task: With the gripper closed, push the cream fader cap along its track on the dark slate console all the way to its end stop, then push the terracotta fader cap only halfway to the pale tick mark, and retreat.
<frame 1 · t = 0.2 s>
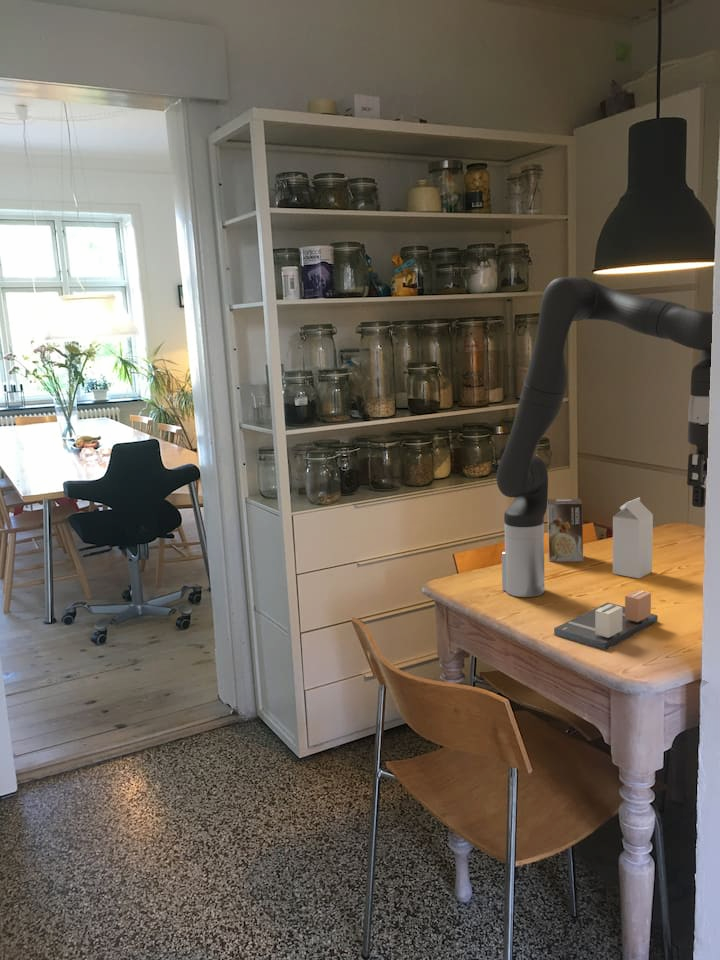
hand: (707, 501, 154), 28 cm above the table, fingers open, 8 cm apart
console board: (606, 628, 168), on the table
coffee box: (565, 559, 217), on the table
fader terracotta: (637, 605, 168), point 5 cm above the table, slide at 0.0 cm
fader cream: (608, 620, 161), point 4 cm above the table, slide at 0.0 cm
milk carton: (632, 573, 202), on the table
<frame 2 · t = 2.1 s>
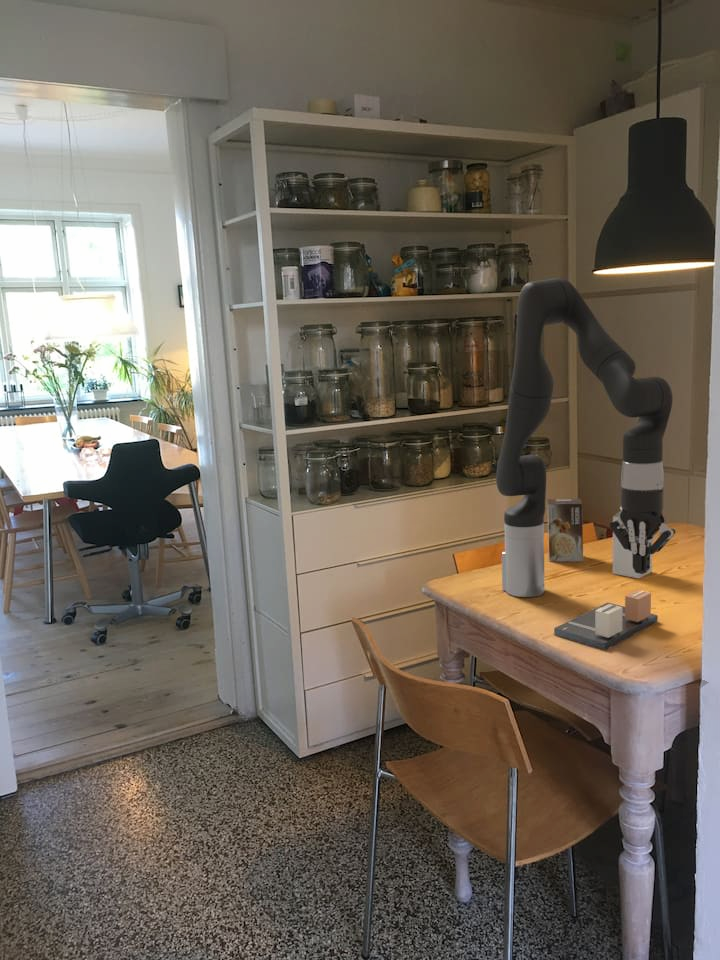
hand: (641, 572, 153), 16 cm above the table, fingers closed
nothing on the table moved.
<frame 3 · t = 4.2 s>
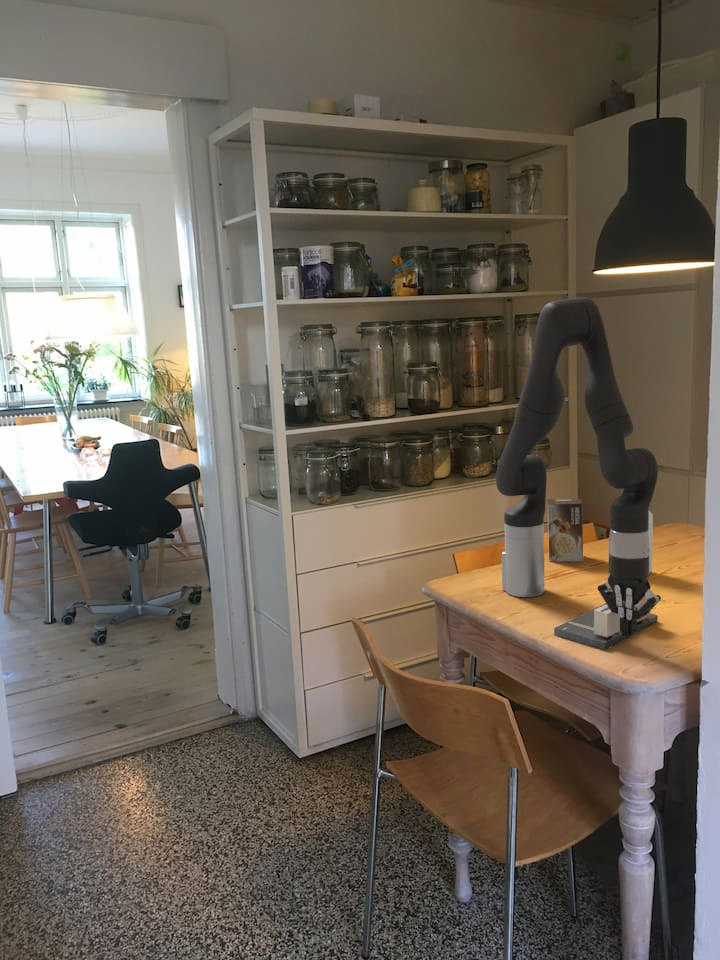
hand: (628, 635, 158), 2 cm above the table, fingers closed
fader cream: (607, 619, 161), point 5 cm above the table, slide at 0.3 cm, touching gripper
everything else where it was.
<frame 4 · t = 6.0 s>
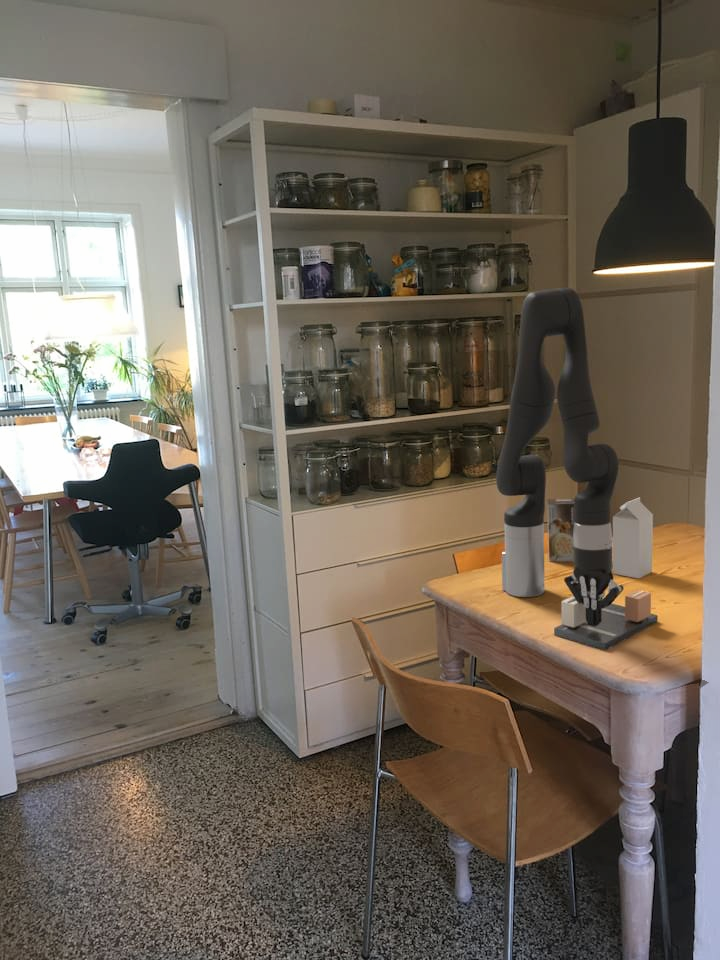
hand: (593, 624, 164), 3 cm above the table, fingers closed
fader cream: (574, 610, 167), point 5 cm above the table, slide at 8.1 cm, touching gripper
everything else where it was.
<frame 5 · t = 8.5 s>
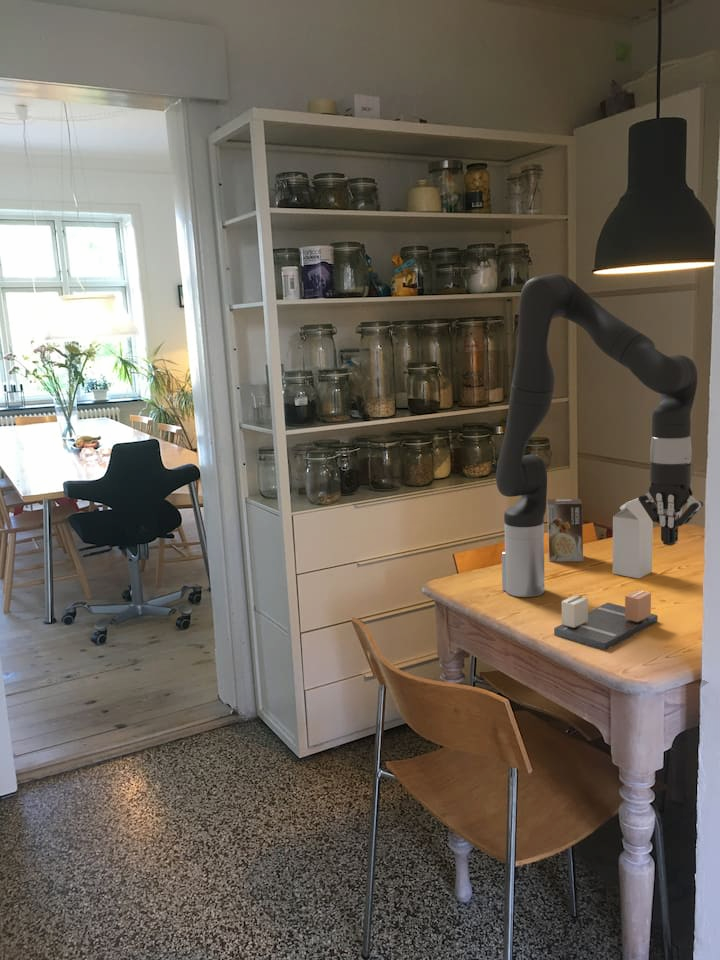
hand: (669, 544, 159), 19 cm above the table, fingers closed
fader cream: (574, 610, 167), point 5 cm above the table, slide at 8.0 cm
everything else where it was.
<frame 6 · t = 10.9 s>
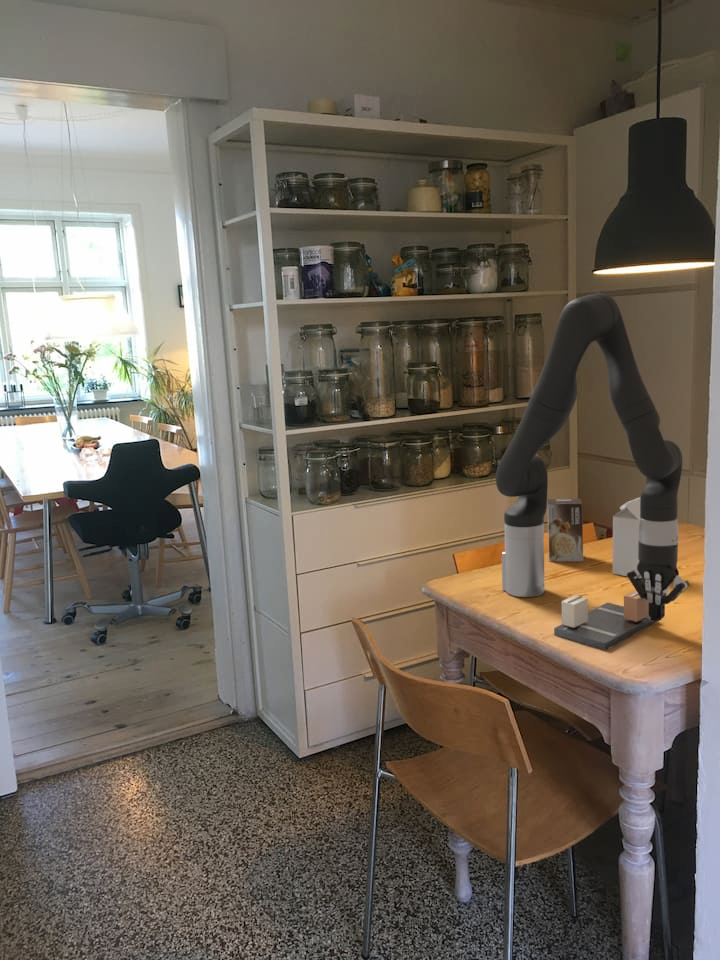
hand: (656, 619, 165), 2 cm above the table, fingers closed
fader terracotta: (636, 605, 168), point 4 cm above the table, slide at 0.3 cm, touching gripper
everything else where it was.
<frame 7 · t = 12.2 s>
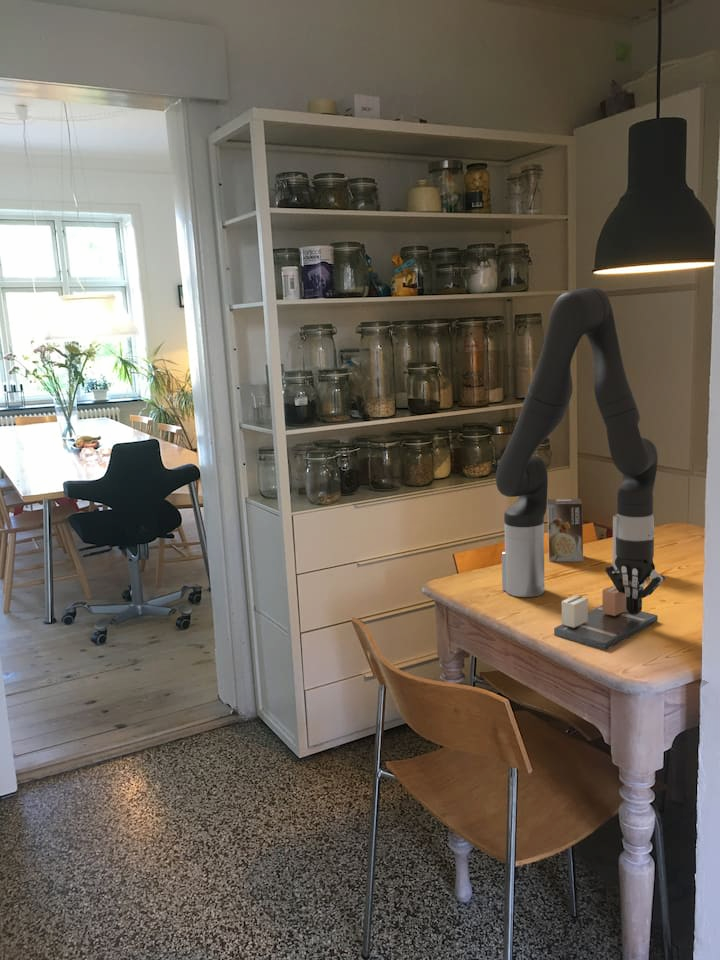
hand: (634, 613, 169), 3 cm above the table, fingers closed
fader terracotta: (615, 599, 172), point 5 cm above the table, slide at 5.4 cm, touching gripper
everything else where it was.
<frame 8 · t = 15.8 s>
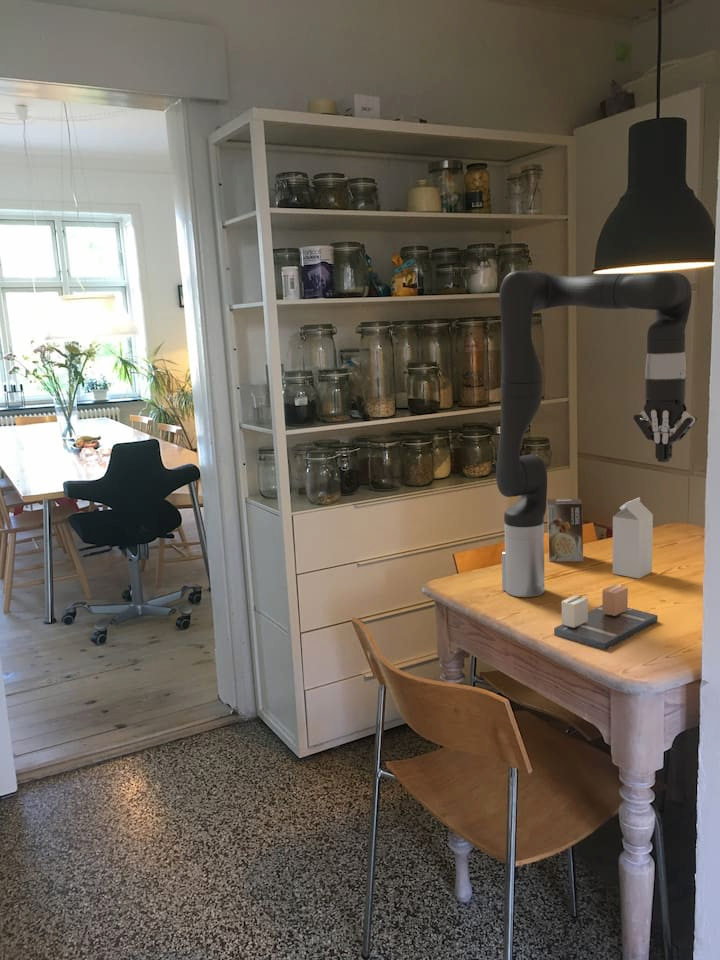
hand: (663, 461, 162), 35 cm above the table, fingers closed
fader terracotta: (615, 599, 172), point 5 cm above the table, slide at 5.4 cm
everything else where it was.
at the end: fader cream slide at 8.0 cm; fader terracotta slide at 5.4 cm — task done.
